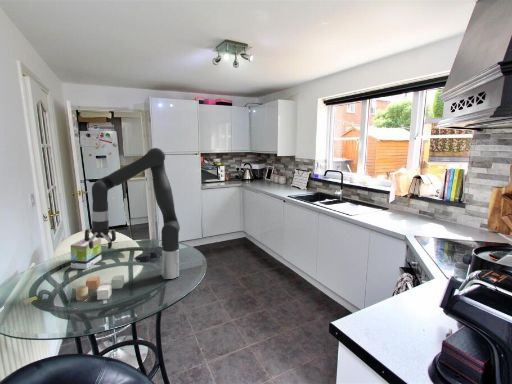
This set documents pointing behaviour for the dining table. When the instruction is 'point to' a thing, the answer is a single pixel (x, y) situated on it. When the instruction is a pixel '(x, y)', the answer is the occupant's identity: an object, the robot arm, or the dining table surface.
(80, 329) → the dining table surface
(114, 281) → the sage block
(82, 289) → the maple cylinder
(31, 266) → the dining table surface
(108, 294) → the cream block
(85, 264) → the tea box
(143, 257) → the dark slate chunk
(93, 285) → the terracotta block
